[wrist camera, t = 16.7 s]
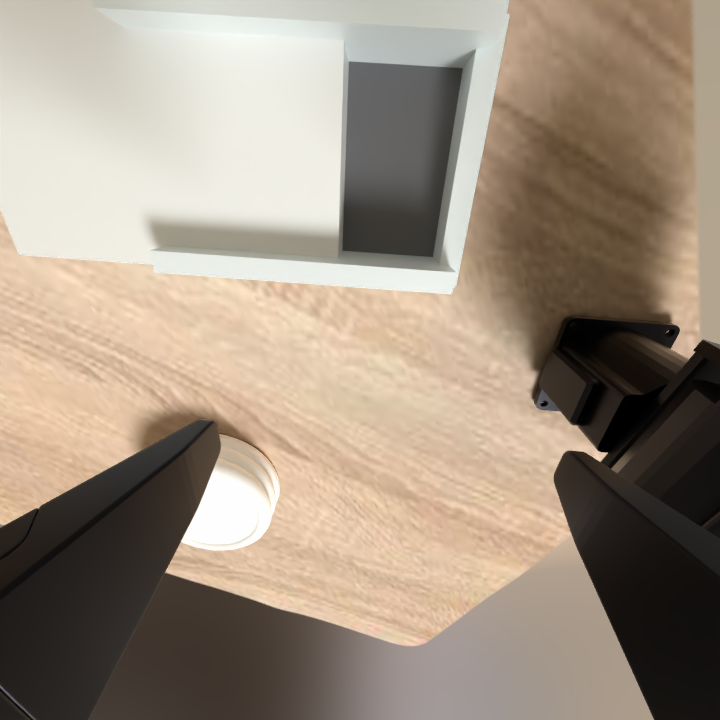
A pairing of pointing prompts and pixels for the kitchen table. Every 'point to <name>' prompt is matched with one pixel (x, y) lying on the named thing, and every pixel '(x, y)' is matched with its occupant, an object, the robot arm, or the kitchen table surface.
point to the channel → (249, 135)
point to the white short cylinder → (235, 499)
